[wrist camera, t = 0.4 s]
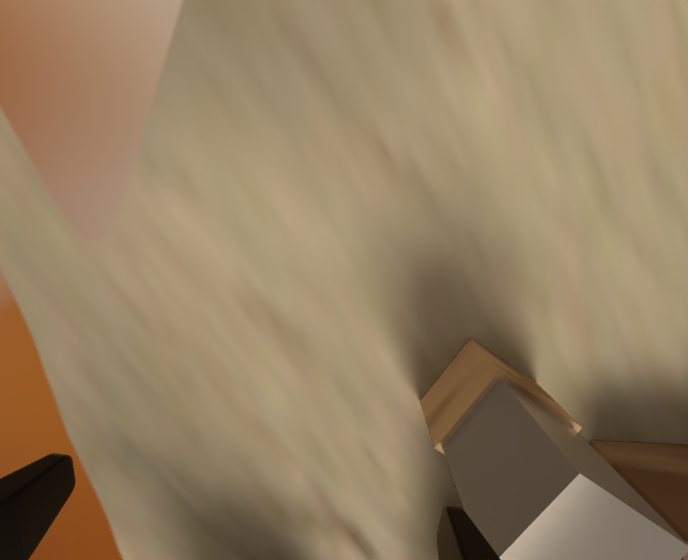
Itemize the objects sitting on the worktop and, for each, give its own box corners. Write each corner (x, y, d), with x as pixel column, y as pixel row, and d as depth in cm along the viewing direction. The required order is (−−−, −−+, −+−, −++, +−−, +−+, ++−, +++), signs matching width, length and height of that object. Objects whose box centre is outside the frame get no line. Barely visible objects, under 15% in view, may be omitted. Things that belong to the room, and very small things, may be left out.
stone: (574, 428, 19) (692, 548, 12) (514, 494, 20) (593, 639, 13) (500, 378, 19) (579, 473, 12) (442, 447, 20) (485, 571, 13)
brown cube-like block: (537, 383, 24) (582, 427, 19) (484, 444, 25) (514, 500, 20) (470, 338, 24) (499, 370, 19) (419, 401, 25) (434, 448, 20)
